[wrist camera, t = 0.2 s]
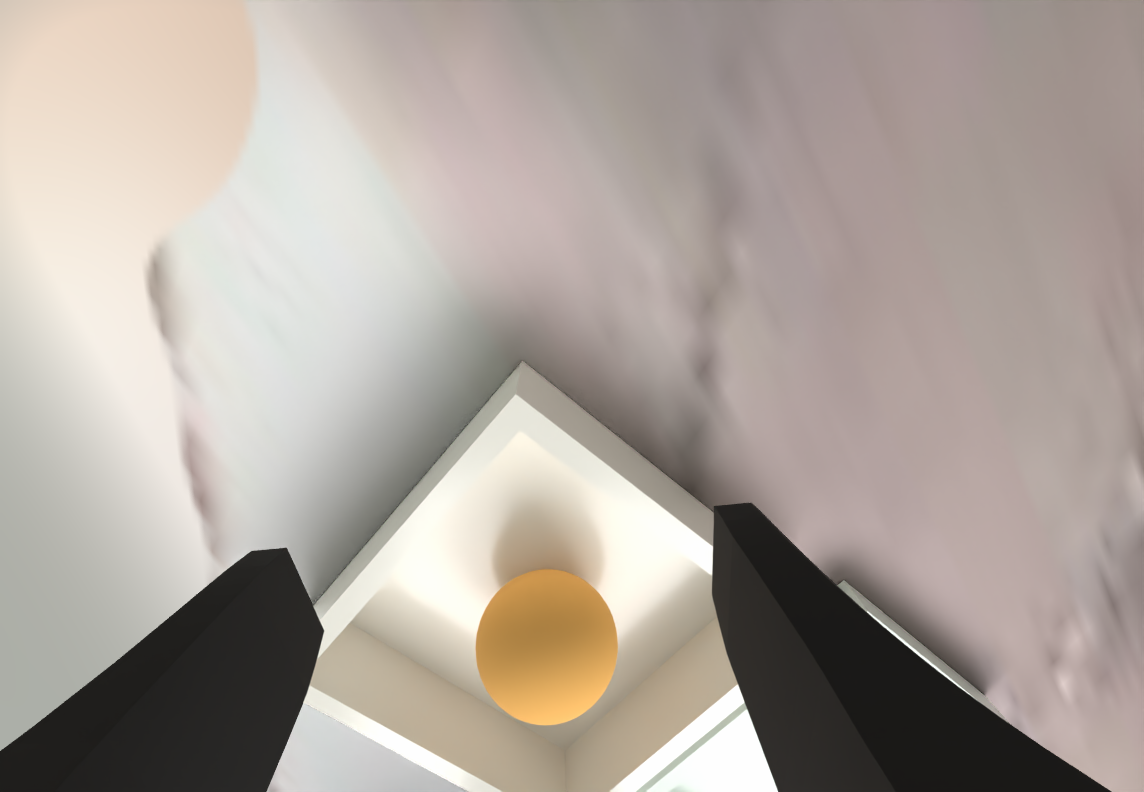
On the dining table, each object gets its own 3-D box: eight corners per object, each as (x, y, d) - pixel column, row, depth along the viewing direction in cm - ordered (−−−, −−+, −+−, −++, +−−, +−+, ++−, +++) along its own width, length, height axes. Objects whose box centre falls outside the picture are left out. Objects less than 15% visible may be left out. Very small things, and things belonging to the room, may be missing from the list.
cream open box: (567, 762, 25) (569, 846, 22) (308, 610, 22) (266, 682, 19) (785, 570, 22) (826, 635, 19) (522, 360, 19) (515, 393, 16)
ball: (555, 664, 23) (555, 783, 18) (459, 603, 22) (432, 713, 17) (636, 588, 22) (659, 694, 17) (539, 518, 21) (534, 611, 16)
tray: (759, 860, 28) (772, 902, 26) (614, 773, 26) (618, 813, 24) (986, 696, 25) (1017, 733, 23) (843, 579, 22) (867, 611, 21)
